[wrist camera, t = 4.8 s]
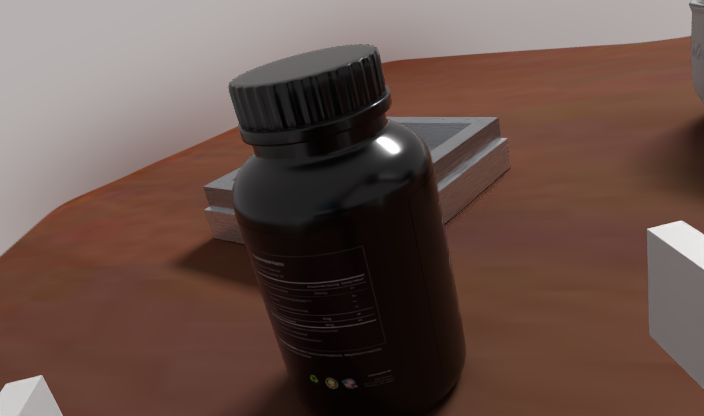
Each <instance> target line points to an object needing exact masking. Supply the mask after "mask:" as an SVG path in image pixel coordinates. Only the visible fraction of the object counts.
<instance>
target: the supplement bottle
mask: <svg viewBox="0 0 704 416" xmlns="http://www.w3.org/2000/svg"><path fill="white" fill-rule="evenodd" d="M229 92H230V96H231V99H232V102H233V106H234V109H235V112H236V115H237V118H238V121H239V125H238V128H239V131H240V134H241V138H242V140H243V142H245V143H246V144H249V145H252V146H253V149H254V153H253V154H252V155H251V156H250V157H249V158H248V159H247V160H246V161H245V163H244V164H243V165H242V167H241V168H240V170H239V171H238V173H237V175H236V177H235V180H234V184H233V188H232V205H233V209H234V212H235V216H236V219H237V223H238V226H239V229H240V232H241V235H242V238H243V241H244V244H245V247H246V249H247V252H248V255H249V258H250V261H251V264H252V267H253V270H254V273H255V276H256V279H257V282H258V285H259V288H260V291H261V294H262V297H263V300H264V303H265V306H266V309H267V312H268V315H269V318H270V321H271V324H272V327H273V330H274V333H275V336H276V339H277V342H278V345H279V348H280V351H281V354H282V357H283V360H284V363H285V366H286V369H287V372H288V374H289V377H290V380H291V383H292V386H293V388H294V391H295V393H296V395H297V397H298V398H299V400H300V401H301V402H302V404H303V405H304V406H305V407H306V408H307V409H308V410H309V411H311V412H312V413H313V414H315V415H316V416H417V415H419V414H421V413H423V412H424V411H426V410H428V409H429V408H431V407H432V406H434V405H435V404H436V403H438V402H439V401H440V400H441V399H442V398H443V397H444V396H445V395H446V394H447V393H448V392H449V391H450V390H451V389H452V387H453V386H454V385H455V383H456V382H457V380H458V378H459V376H460V374H461V372H462V369H463V366H464V362H465V356H466V346H465V338H464V332H463V326H462V319H461V314H460V308H459V303H458V297H457V292H456V286H455V281H454V275H453V270H452V264H451V259H450V253H449V248H448V242H447V237H446V231H445V226H444V220H443V215H442V209H441V204H440V198H439V193H438V187H437V182H436V176H435V171H434V166H433V162H432V157H431V154H430V151H429V149H428V147H427V145H426V144H425V142H424V141H423V140H422V138H421V137H420V136H419V135H418V134H417V133H416V132H414V131H413V130H412V129H410V128H409V127H407V126H405V125H403V124H401V123H398V122H396V121H393V120H390V119H386V114H385V112H386V111H387V110H388V109H389V108H390V107H391V104H392V100H391V94H390V90H389V88H388V87H387V86H386V85H385V79H384V74H383V69H382V64H381V60H380V55H379V52H378V49H377V47H374V46H373V45H362V44H359V45H346V46H338V47H332V48H326V49H321V50H316V51H312V52H308V53H303V54H299V55H295V56H291V57H288V58H284V59H281V60H278V61H274V62H272V63H268V64H266V65H263V66H260V67H257V68H255V69H252V70H250V71H247V72H246V73H244V74H241V75H239V76H238V77H236V78H234V79H233V80H232V81H231V82H230V83H229Z"/></svg>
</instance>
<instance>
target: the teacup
mask: <svg viewBox="0 0 704 416" xmlns="http://www.w3.org/2000/svg"><path fill="white" fill-rule="evenodd" d="M689 6H690V8H691V10H692V34H691V57H692V77H693V84H694V87H695V91H696V93H697V95H698V96H699V98H700V99H701V100H702V102H704V0H691V2H690V3H689Z"/></svg>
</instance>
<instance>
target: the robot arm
mask: <svg viewBox="0 0 704 416" xmlns="http://www.w3.org/2000/svg"><path fill="white" fill-rule="evenodd" d="M647 252H648V299H649V335H650V336H651V337H652V338H653V339H654V340H655V341H656V342H657V343H658V344H659V345H660V346H661V347H662V348H663V349H664V350H665V351H666V352H667V353H668V354H669V355H670V356H671V357H672V358H673V359H674V360H675V361H676V362H677V363H678V364H679V365H680V366H681V367H682V368H683V369H684V370H685V371H686V372H687V373H688V374H689V375H690V376H691V377H692V378H693V379H694V380H695V381H696V382H697V383H698V384H699V385H700V386H701V387H702V388H703V389H704V234H702V233H701V232H699V231H697V230H696V229H694V228H693V227H691V226H690V225H688V224H686V223H685V222H683V221H682V220H681V221H677V222H673V223H669V224H665V225H661V226H657V227H653V228H648V229H647ZM0 416H63V415H62V413H61V411H60V409H59V407H58V405H57V403H56V401H55V399H54V397H53V395H52V394H51V392H50V390H49V388H48V386H47V384H46V382H45V380H44V378H43V376H42V375H41V376H37V377H32V378H28V379H24V380H20V381H16V382H12V383H8V384H6V385H5V386H4V388H3V389H2V391H1V392H0Z"/></svg>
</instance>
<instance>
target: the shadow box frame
mask: <svg viewBox="0 0 704 416" xmlns="http://www.w3.org/2000/svg"><path fill="white" fill-rule="evenodd" d="M386 119H390V120H393V121H396V122H398V123H401V124H403V125H405V126H407V127H409V128H410V129H412V130H413V131H414V132H416V133H417V134H418V135H419V136H420V137H421V138H422V140H423V141H424V142H425V144H426V145H427V147H428V149H429V151H430V154H431V157H432V162H433V166H434V171H435V176H436V182H437V187H438V193H439V198H440V204H441V209H442V215H443V220H444V224H445V223H447V222H448V221H449V220H450V219H451V218H452V217H454V216H455V215H456V214H457V213H458V212H459V211H461V210H462V209H463V208H464V207H465V206H466V205H468V204H469V203H470V202H471V201H472V200H473V199H474V198H476V197H477V196H478V195H479V194H480V193H481V192H483V191H484V190H485V189H486V188H487V187H488V186H490V185H491V184H492V183H493V182H494V181H495V180H497V179H498V178H499V177H500V176H501V175H502V174H504V173H505V172H506V171H507V170H508V169H509V168H510V167H511V166H510V157H509V148H508V139H507V138H501V136H500V128H499V119H498V117H386ZM239 170H240V168H239V169H237V170H235V171H233V172H231V173H229V174H227V175H225V176H223V177H221V178H219V179H217V180H215V181H213V182H211V183H209V184H207V185H206V186H204V190H205V193H206V196H207V199H208V202H209V205H210V207H208V208H206V209H205V210H204V211H205V214H206V217H207V220H208V223H209V226H210V229H211V232H212V235H213V238H217V239H222V240H227V241H231V242H236V243H241V244H244V241H243V238H242V235H241V232H240V229H239V226H238V223H237V219H236V216H235V212H234V209H233V205H232V188H233V184H234V180H235V177H236V175H237V173H238V171H239Z"/></svg>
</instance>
